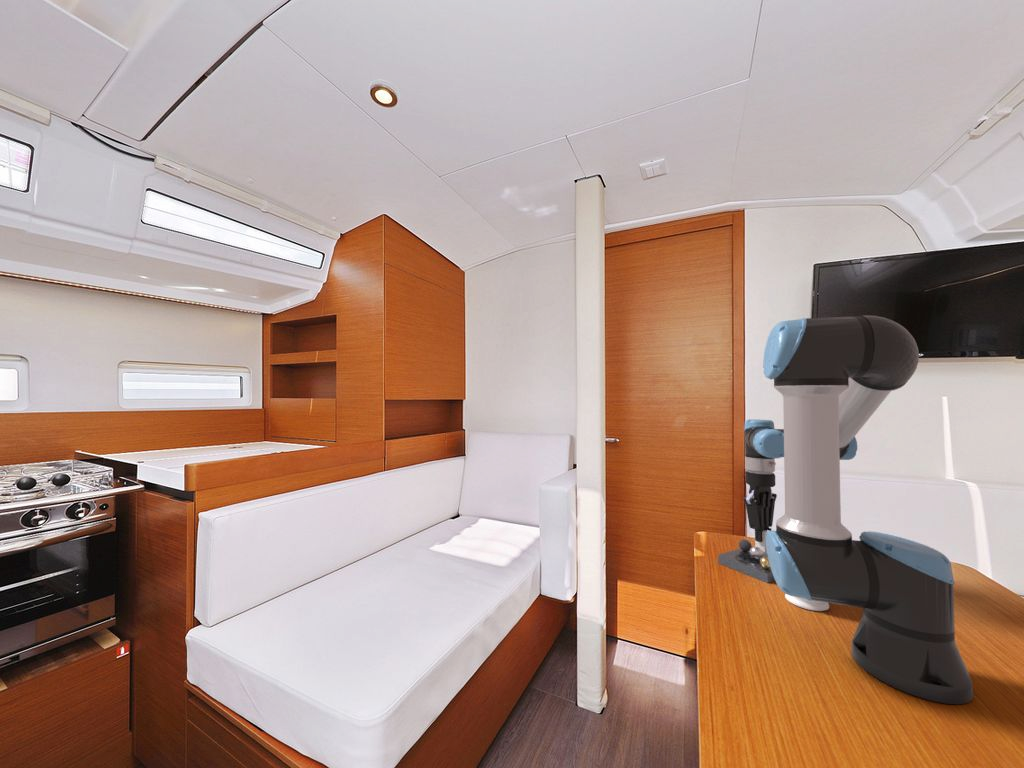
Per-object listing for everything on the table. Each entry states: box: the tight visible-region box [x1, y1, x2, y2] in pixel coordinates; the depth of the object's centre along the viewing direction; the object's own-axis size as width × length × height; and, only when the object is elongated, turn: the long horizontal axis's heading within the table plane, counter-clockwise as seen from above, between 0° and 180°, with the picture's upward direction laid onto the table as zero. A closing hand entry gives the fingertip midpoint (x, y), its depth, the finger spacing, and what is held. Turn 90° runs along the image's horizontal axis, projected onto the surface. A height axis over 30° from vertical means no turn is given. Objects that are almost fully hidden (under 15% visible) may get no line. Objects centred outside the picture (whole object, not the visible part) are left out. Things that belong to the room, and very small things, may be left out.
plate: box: [717, 545, 776, 584], centre depth 113 cm, size 16×14×2 cm
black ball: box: [738, 539, 753, 552], centre depth 118 cm, size 3×3×3 cm
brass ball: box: [760, 557, 771, 569], centre depth 106 cm, size 3×3×3 cm
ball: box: [750, 545, 763, 559], centre depth 113 cm, size 3×3×3 cm
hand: (761, 552), depth 114 cm, fingers closed
